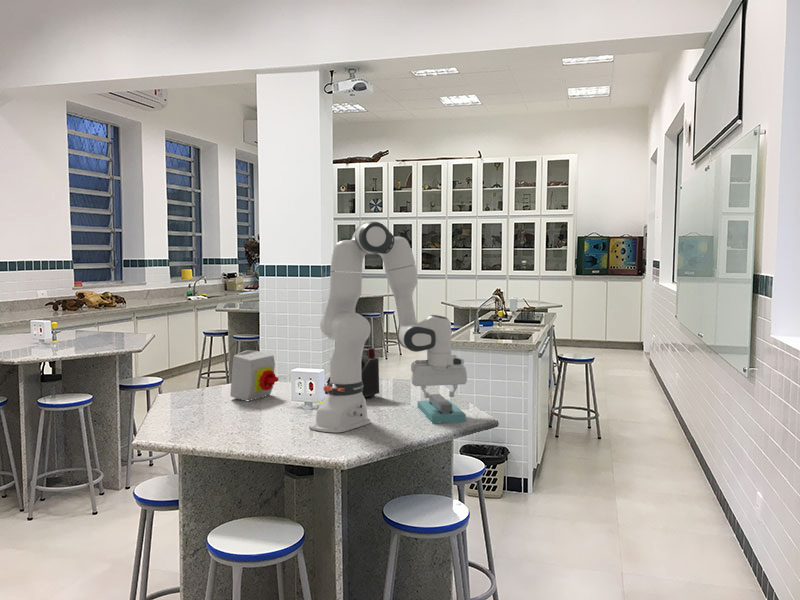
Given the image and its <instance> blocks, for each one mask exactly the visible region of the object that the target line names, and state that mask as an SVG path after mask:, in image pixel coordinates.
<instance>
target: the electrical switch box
mask: <svg viewBox="0 0 800 600" xmlns="http://www.w3.org/2000/svg"><path fill="white" fill-rule="evenodd" d="M275 365H276V362H275V357H274V355H272V354H270V353H267V352H262V351H258V350H250V349H249V350H244V351H241V352H239V353H237V354H234V355H233V358H232V366H231V367H232V369H231V380H230V381H231V385H230V395H229V396H230V397H231V398H234V399H238V400H240V399H241V401H243V400H251V399H254V400H256V399H255V398H258V397H261V398H263V397H262V396H265V395H268V396H270V395H271V393H272V392H273V391H272V390H273V388H274V385H275V383H277V382H279V377H277V376H276V373H275V370H276V369H275V368H276V367H275ZM269 394H270V395H269ZM265 397H266V396H265ZM258 399H259V398H258ZM251 401H252V400H251Z"/></svg>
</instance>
